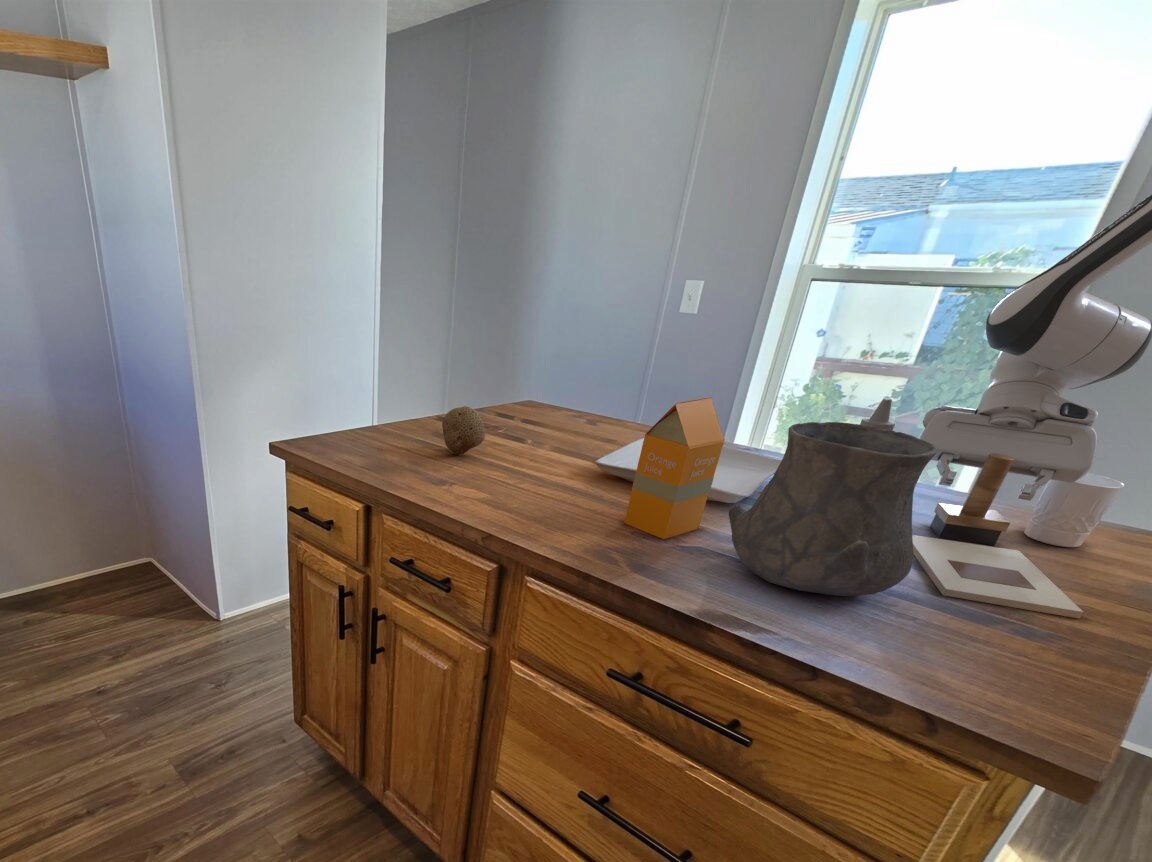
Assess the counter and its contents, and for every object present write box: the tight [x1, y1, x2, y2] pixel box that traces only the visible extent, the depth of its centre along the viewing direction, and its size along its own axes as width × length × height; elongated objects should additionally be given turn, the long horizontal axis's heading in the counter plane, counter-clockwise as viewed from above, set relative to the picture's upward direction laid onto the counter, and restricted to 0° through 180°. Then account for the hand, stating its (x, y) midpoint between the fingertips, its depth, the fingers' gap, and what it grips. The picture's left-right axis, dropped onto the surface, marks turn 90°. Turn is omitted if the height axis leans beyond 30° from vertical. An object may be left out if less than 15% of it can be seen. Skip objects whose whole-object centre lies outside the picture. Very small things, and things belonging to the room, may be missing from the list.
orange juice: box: [623, 396, 726, 540], centre depth 101 cm, size 8×9×20 cm
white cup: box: [1023, 472, 1126, 548], centre depth 101 cm, size 8×8×10 cm
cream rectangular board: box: [912, 534, 1084, 619], centre depth 92 cm, size 14×20×1 cm
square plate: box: [593, 437, 782, 504], centre depth 126 cm, size 27×27×4 cm
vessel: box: [727, 421, 937, 597], centre depth 86 cm, size 22×22×20 cm
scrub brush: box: [929, 453, 1015, 547], centre depth 101 cm, size 8×6×13 cm
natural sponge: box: [441, 405, 487, 456], centre depth 136 cm, size 9×9×10 cm
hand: (984, 490), depth 100 cm, fingers open, 8 cm apart
